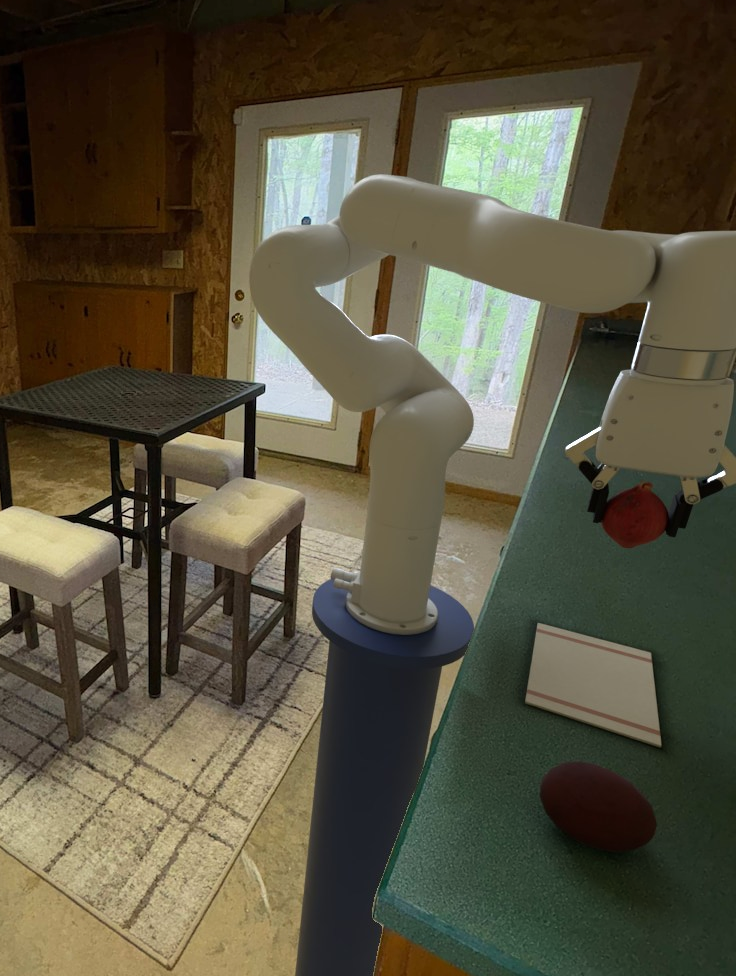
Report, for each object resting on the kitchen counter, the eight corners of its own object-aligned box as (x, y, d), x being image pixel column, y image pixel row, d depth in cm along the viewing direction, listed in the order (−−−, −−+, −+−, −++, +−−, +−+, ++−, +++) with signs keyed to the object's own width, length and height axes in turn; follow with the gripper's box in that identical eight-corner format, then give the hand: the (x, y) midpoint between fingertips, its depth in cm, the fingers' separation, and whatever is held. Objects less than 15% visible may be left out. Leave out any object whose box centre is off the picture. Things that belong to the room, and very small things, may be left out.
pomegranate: (628, 563, 67) (649, 494, 64) (581, 540, 72) (598, 475, 69) (671, 555, 68) (693, 488, 65) (621, 533, 73) (639, 469, 70)
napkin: (524, 703, 70) (525, 701, 70) (537, 624, 84) (537, 622, 84) (660, 748, 64) (661, 745, 63) (650, 654, 77) (651, 652, 77)
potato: (532, 780, 60) (545, 732, 58) (639, 816, 56) (657, 765, 54) (532, 840, 54) (547, 789, 52) (652, 885, 50) (673, 832, 48)
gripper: (789, 364, 61) (729, 530, 67) (577, 350, 70) (542, 498, 76) (810, 379, 55) (742, 559, 62) (576, 362, 64) (538, 520, 71)
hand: (632, 523), depth 69 cm, fingers closed on pomegranate, 5 cm apart
